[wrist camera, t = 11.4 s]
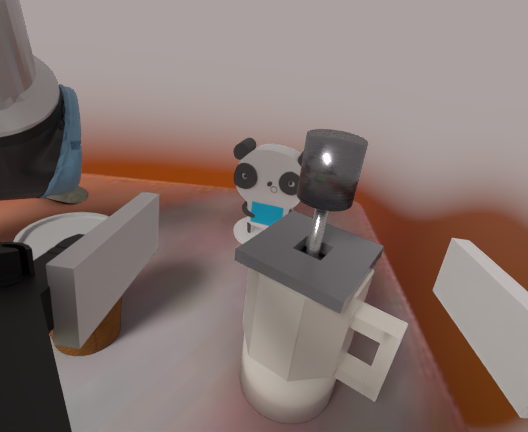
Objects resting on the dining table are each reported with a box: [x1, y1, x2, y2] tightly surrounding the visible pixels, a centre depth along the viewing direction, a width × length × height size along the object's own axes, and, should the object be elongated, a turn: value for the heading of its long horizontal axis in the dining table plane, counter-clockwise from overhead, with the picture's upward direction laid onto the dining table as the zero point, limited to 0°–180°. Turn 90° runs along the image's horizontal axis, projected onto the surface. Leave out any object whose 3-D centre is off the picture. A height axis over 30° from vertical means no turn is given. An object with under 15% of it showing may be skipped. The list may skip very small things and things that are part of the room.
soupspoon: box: [46, 186, 88, 203], centre depth 59 cm, size 22×3×7 cm
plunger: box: [297, 129, 368, 259], centre depth 27 cm, size 4×4×17 cm
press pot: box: [235, 210, 408, 424], centre depth 30 cm, size 13×9×16 cm
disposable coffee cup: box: [13, 212, 122, 356], centre depth 34 cm, size 10×10×12 cm
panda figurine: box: [233, 138, 304, 244], centre depth 54 cm, size 12×11×15 cm
